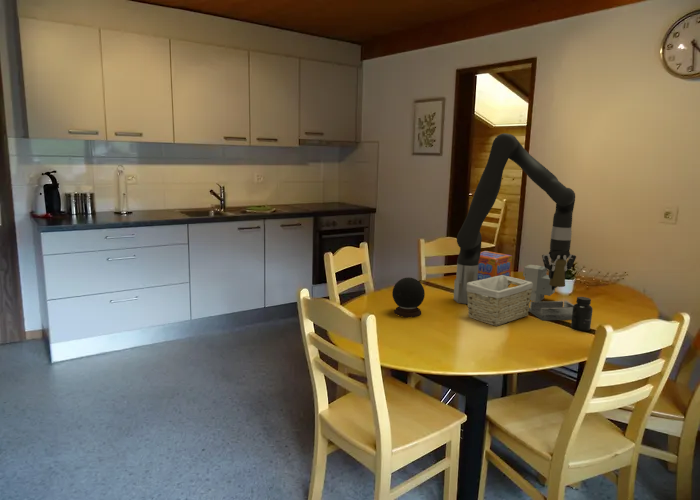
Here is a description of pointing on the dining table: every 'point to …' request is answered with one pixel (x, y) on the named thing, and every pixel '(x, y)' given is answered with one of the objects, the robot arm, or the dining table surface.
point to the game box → (494, 265)
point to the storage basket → (498, 299)
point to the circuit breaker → (538, 282)
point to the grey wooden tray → (552, 310)
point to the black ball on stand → (408, 297)
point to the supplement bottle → (582, 314)
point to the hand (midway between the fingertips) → (556, 279)
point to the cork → (558, 274)
